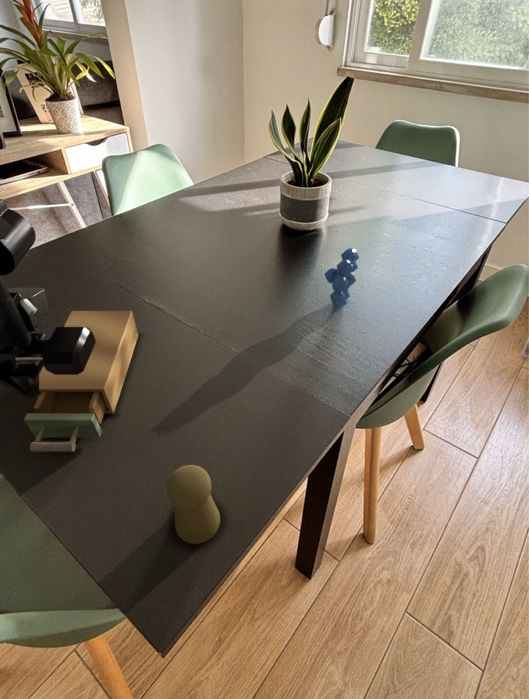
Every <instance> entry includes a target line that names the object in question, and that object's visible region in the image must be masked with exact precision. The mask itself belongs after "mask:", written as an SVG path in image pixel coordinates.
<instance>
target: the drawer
mask: <svg viewBox="0 0 529 699" xmlns="http://www.w3.org/2000/svg"><path fill="white" fill-rule="evenodd" d="M106 407H107V404H106V402H105V400H104V397H103V395H102V392H41V394H40V396H39V398H38V400H36V402H35V404H34V406H33V409H34V410H35V413H26V414H25V416H24V419H23V421H24V422H25V424H26V426H27V428H29V430H30V432H31V433H32V435H33V436H34V438H35V440H34V441H32V442H31V443H30V445H29V451H30V452H31V453H32V452H33V453H73V452H75V451H76V449H77V444H76V441H77V439H78V438H80V439H81V438H83V439H85V438H86V439H91V438H93V439H96V438H97V439H98V438H101V436H102V433H103V431H102V428H101V426H100V425H102V421H103V418H104V415H105V414H104V413H105V410H106ZM43 438H45V439H47V438H48V439H49V438H51V439H53V438H55V439H56V438H57V439H59V438H61V439H62V438H63V439H65V438H67V439H69V441H42V440H43Z"/></svg>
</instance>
